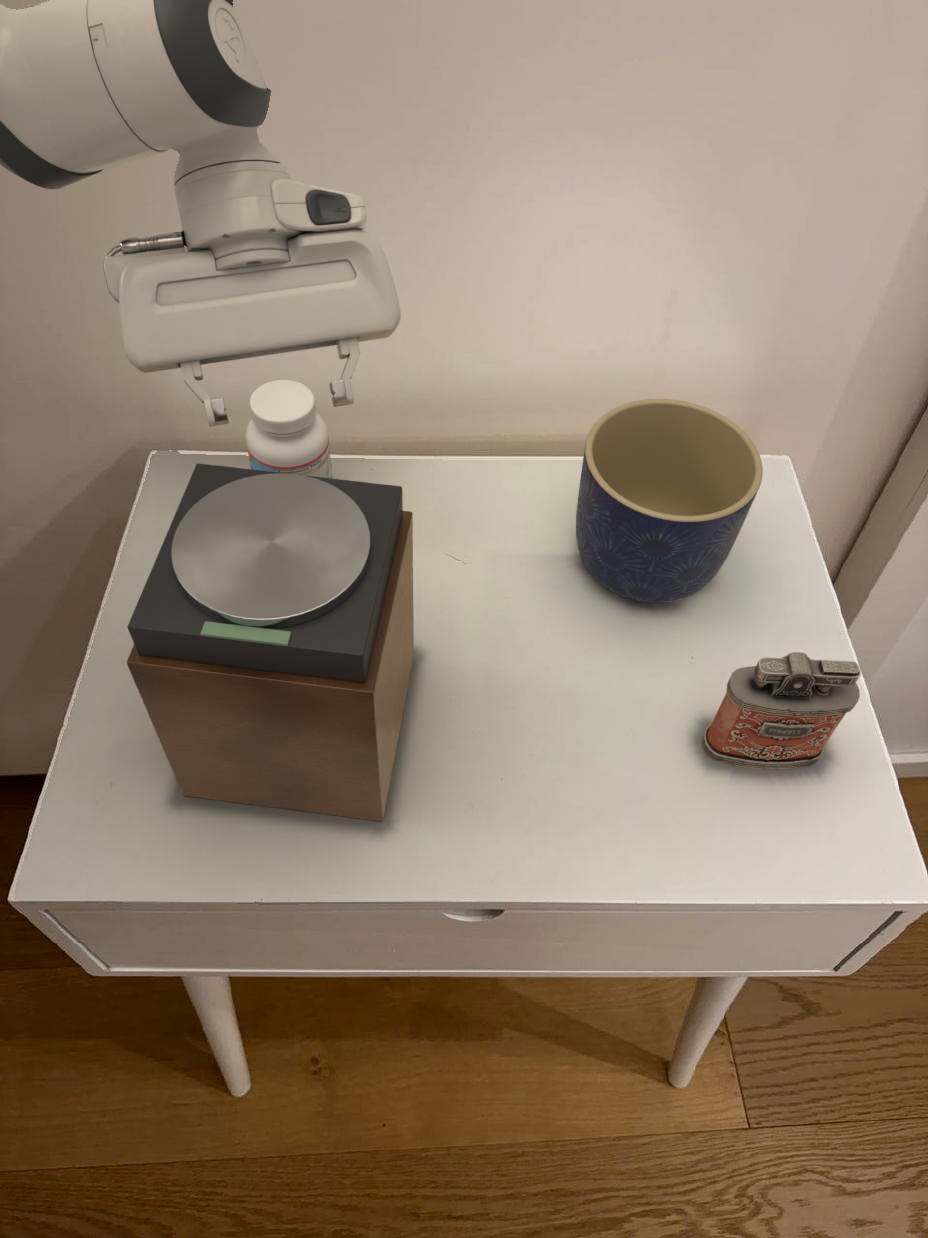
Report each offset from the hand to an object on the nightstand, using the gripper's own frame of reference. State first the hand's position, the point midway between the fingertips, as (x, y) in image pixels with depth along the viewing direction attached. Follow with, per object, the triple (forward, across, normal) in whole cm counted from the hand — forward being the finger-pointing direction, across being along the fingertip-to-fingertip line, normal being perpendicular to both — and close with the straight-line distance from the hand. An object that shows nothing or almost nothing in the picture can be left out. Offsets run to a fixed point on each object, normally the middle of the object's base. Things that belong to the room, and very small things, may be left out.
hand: (282, 414), depth 72 cm
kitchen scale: (+11, -3, -20) cm, 23 cm away
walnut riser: (+21, -3, -10) cm, 24 cm away
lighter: (+28, +26, -17) cm, 42 cm away
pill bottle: (+7, 0, +4) cm, 8 cm away
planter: (+16, +25, -4) cm, 30 cm away
